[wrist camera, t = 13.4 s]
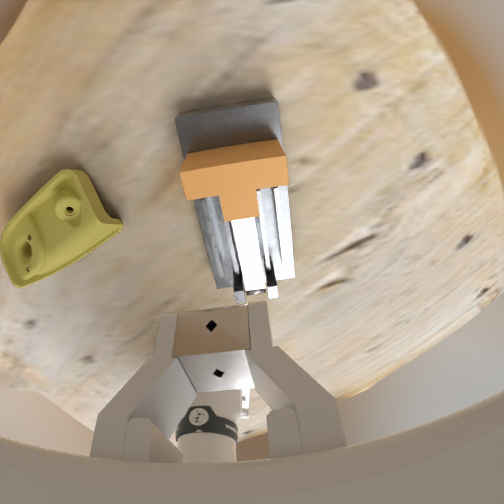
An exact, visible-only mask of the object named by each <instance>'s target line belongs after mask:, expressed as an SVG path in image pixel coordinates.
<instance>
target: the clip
mask: <svg viewBox="0 0 504 504" xmlns="http://www.w3.org/2000/svg"><path fill="white" fill-rule="evenodd" d="M180 176H181V180H182V184H183V188H184V192H185V196H186V200H187V201H189V200H194V199H200V198H206V197H212V196H218V195H219V198H220V203H221V208H222V213H223V217H224V222H227V221H234V220H240V219H247V218H253V217H260V213H259V206H258V199H257V193H256V189H263V188H270V187H277V186H285V185H289V179H288V169H287V159H286V154H285V152H284V150H283V148H282V146H281V144H280V142H279V141H278V139H274V140H267V141H260V142H253V143H246V144H239V145H233V146H227V147H221V148H215V149H209V150H204V151H198V152H193V153H188V154H187V155H186V158H185V160H184V163H183V165H182V168H181V171H180Z"/></svg>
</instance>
